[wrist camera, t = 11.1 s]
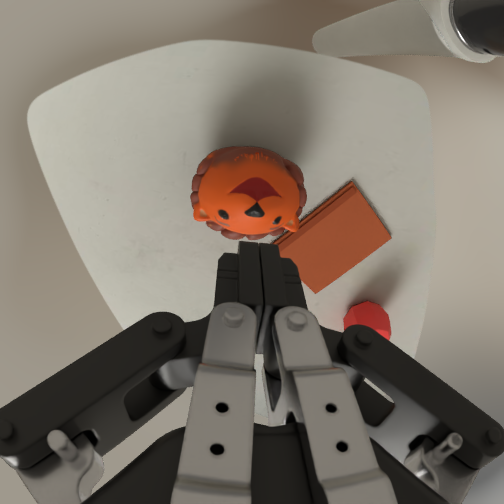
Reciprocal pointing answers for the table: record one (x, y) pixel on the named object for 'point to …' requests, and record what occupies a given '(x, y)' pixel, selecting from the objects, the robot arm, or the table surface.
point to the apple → (369, 318)
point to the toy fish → (248, 193)
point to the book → (333, 238)
